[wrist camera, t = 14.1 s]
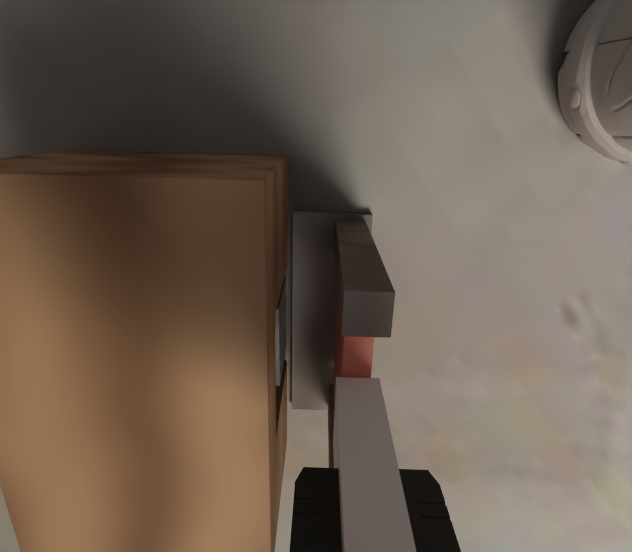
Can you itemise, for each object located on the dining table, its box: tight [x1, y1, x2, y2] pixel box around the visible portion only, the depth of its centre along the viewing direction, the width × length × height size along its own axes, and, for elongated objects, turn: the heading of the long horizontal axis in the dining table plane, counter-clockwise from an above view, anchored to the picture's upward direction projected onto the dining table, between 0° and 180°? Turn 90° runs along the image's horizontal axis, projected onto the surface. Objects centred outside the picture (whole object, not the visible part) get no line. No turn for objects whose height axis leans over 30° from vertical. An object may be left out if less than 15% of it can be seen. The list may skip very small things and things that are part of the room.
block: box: [0, 150, 395, 552], centre depth 18 cm, size 14×16×9 cm
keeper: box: [334, 292, 374, 399], centre depth 18 cm, size 1×6×6 cm, turn 179°
